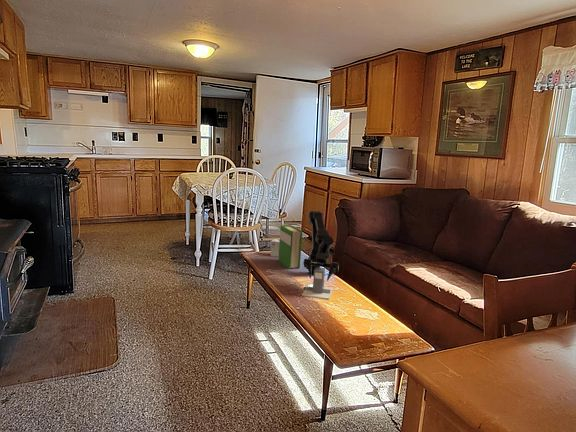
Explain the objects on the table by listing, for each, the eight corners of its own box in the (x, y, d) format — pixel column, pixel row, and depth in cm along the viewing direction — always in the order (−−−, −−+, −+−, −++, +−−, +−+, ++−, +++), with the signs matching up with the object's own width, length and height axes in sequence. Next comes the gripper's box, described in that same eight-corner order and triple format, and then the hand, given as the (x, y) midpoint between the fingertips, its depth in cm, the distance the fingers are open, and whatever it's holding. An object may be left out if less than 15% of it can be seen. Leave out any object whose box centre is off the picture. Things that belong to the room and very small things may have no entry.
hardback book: (299, 268, 244) (302, 231, 240) (288, 269, 241) (291, 231, 237) (288, 260, 260) (291, 225, 256) (278, 260, 257) (280, 225, 253)
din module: (314, 288, 210) (315, 267, 208) (323, 289, 209) (325, 268, 207) (312, 292, 204) (314, 270, 202) (321, 293, 203) (323, 271, 201)
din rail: (306, 288, 209) (306, 286, 209) (330, 292, 206) (330, 289, 206) (305, 290, 207) (305, 287, 207) (330, 293, 204) (330, 291, 204)
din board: (307, 285, 216) (307, 284, 216) (332, 288, 213) (332, 287, 213) (302, 295, 200) (302, 294, 200) (329, 299, 198) (329, 298, 197)
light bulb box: (286, 254, 272) (287, 239, 270) (285, 257, 266) (286, 242, 264) (271, 253, 273) (272, 238, 271) (270, 256, 267) (271, 240, 265)
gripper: (305, 244, 209) (299, 270, 200) (340, 248, 205) (336, 274, 196) (306, 254, 218) (301, 279, 209) (340, 258, 214) (336, 284, 205)
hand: (318, 279), depth 205 cm, fingers open, 9 cm apart
